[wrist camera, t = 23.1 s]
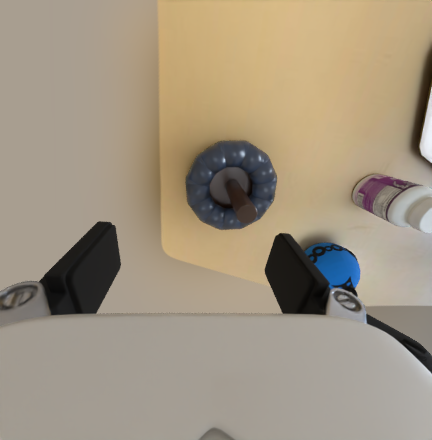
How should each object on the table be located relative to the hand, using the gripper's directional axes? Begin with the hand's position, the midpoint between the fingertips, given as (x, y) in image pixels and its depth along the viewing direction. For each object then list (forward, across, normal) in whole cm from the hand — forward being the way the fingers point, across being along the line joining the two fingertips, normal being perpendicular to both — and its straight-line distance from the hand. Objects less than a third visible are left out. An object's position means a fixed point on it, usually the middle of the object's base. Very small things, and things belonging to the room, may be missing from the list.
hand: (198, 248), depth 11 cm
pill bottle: (+16, -26, -1) cm, 31 cm away
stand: (+16, -5, +1) cm, 17 cm away
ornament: (+16, -22, +12) cm, 30 cm away
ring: (+14, -4, 0) cm, 14 cm away
